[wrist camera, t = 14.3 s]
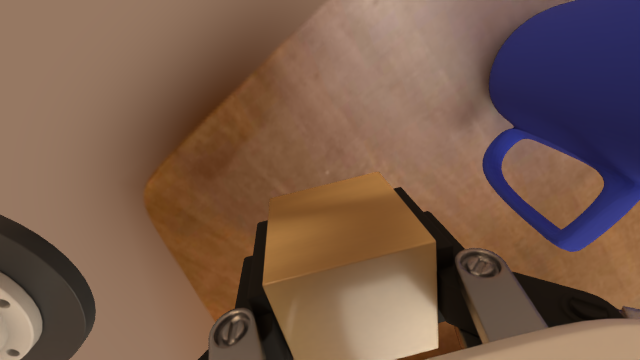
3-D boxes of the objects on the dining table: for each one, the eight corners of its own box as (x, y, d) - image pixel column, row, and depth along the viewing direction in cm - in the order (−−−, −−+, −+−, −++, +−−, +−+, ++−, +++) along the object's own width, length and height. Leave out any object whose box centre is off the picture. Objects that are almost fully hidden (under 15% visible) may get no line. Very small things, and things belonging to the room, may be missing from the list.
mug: (412, 151, 19) (519, 238, 10) (533, -37, 15) (895, -167, 6) (495, 190, 21) (642, 291, 12) (621, 37, 17) (981, 22, 8)
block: (297, 279, 13) (304, 385, 9) (269, 198, 11) (261, 285, 7) (389, 255, 13) (439, 348, 9) (378, 170, 11) (437, 240, 7)
